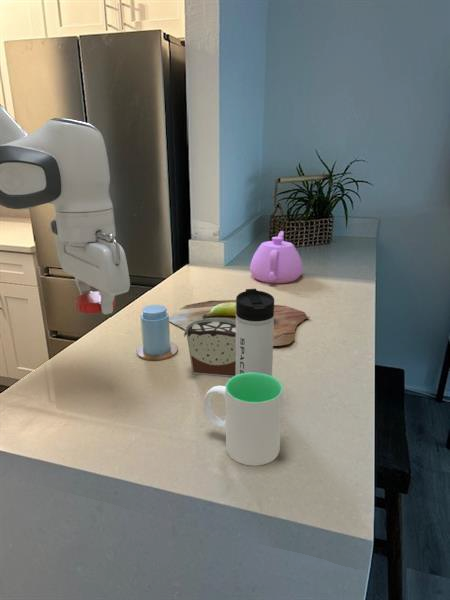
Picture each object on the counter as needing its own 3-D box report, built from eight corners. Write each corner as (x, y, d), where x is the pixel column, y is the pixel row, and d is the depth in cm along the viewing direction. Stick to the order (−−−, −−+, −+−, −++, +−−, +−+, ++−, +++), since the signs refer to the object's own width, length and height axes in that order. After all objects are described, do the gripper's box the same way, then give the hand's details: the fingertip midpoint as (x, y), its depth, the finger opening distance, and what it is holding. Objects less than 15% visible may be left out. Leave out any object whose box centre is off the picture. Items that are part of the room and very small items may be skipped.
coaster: (136, 362, 90) (136, 360, 90) (136, 344, 98) (136, 342, 98) (179, 358, 91) (179, 356, 91) (176, 340, 100) (176, 338, 99)
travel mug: (265, 389, 80) (268, 287, 73) (275, 410, 73) (279, 300, 67) (232, 393, 79) (232, 289, 72) (239, 414, 72) (240, 302, 66)
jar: (142, 356, 91) (139, 315, 88) (143, 344, 97) (139, 305, 94) (171, 354, 92) (169, 313, 89) (169, 342, 98) (167, 303, 94)
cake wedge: (250, 363, 89) (251, 318, 86) (246, 378, 83) (247, 331, 80) (192, 358, 91) (191, 315, 88) (185, 373, 86) (183, 326, 82)
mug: (193, 450, 64) (190, 389, 60) (215, 419, 71) (214, 363, 67) (270, 471, 60) (273, 407, 56) (285, 437, 67) (288, 378, 63)
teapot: (300, 288, 135) (302, 245, 130) (244, 285, 138) (245, 243, 133) (303, 267, 158) (306, 230, 153) (255, 265, 161) (256, 228, 156)
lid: (122, 307, 74) (121, 297, 73) (86, 316, 70) (85, 306, 70) (105, 298, 79) (104, 288, 78) (71, 306, 75) (70, 296, 74)
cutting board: (315, 310, 117) (316, 297, 116) (293, 353, 93) (293, 337, 92) (197, 296, 129) (197, 283, 128) (151, 330, 105) (150, 316, 104)
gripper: (136, 233, 64) (143, 319, 69) (80, 217, 79) (89, 289, 84) (96, 239, 60) (106, 329, 65) (45, 221, 75) (57, 296, 80)
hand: (96, 306), depth 74 cm, fingers closed on lid, 6 cm apart
